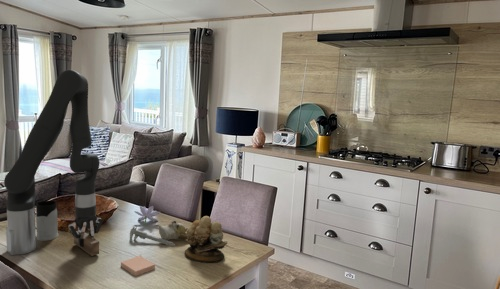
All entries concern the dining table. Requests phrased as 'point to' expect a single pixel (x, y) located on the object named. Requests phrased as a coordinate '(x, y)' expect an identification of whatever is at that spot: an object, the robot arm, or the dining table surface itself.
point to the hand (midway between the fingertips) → (86, 245)
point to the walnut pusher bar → (89, 244)
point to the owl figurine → (205, 241)
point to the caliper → (148, 237)
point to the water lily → (147, 213)
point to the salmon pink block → (137, 265)
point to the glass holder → (46, 220)
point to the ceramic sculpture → (173, 231)
